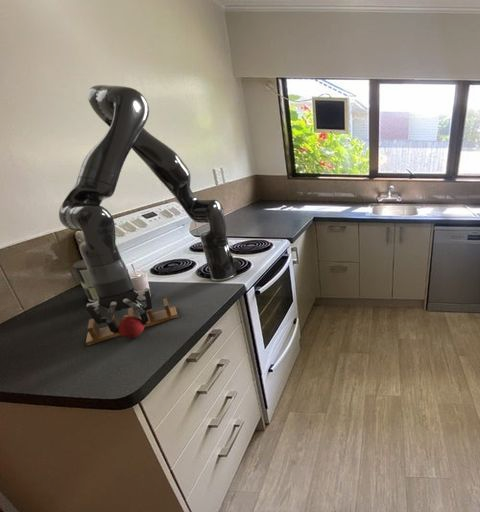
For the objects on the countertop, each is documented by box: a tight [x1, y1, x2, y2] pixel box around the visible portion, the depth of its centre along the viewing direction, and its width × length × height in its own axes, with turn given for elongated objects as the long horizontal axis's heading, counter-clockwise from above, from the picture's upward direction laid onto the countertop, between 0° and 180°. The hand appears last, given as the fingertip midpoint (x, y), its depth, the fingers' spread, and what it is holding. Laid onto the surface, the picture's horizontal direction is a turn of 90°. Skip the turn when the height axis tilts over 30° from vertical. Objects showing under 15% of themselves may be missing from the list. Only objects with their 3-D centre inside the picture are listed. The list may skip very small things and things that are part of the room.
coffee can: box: [71, 259, 99, 303], centre depth 107 cm, size 10×10×14 cm
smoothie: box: [129, 263, 152, 301], centre depth 105 cm, size 6×6×14 cm
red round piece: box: [118, 314, 145, 339], centre depth 84 cm, size 6×6×8 cm
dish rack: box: [85, 297, 179, 346], centre depth 90 cm, size 22×6×5 cm, turn 130°
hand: (131, 327), depth 85 cm, fingers closed on red round piece, 6 cm apart
